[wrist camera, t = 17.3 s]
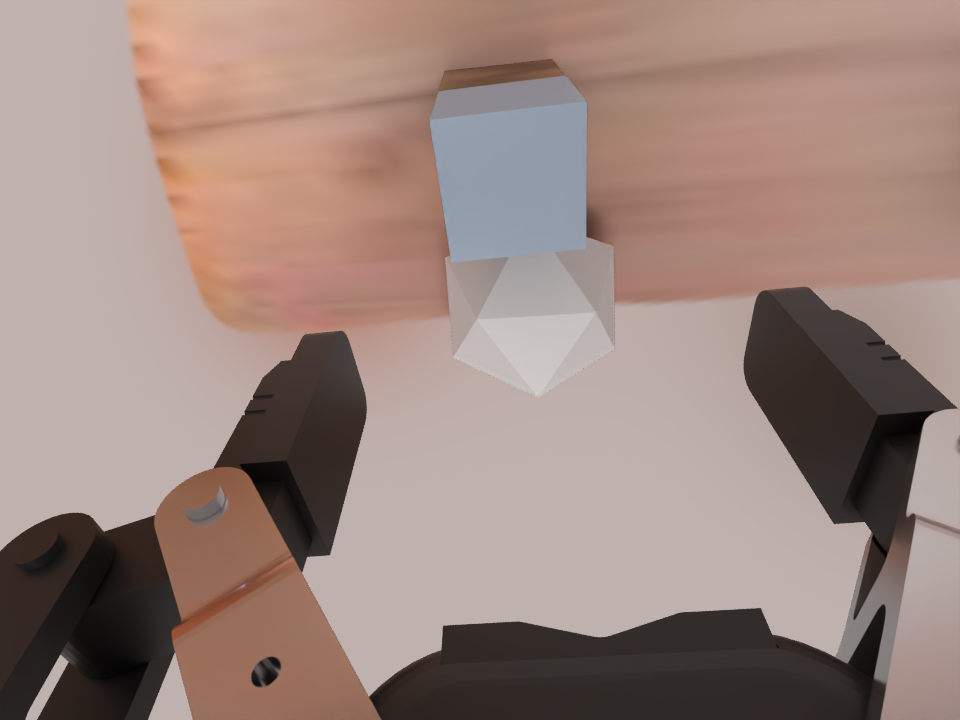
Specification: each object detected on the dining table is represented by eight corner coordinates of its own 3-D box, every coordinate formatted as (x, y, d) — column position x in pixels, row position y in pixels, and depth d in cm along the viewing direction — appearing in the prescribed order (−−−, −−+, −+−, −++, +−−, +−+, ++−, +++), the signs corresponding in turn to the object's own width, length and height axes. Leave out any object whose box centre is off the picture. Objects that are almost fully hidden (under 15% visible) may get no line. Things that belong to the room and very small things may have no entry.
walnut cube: (552, 58, 25) (566, 76, 21) (554, 168, 28) (566, 202, 24) (444, 71, 25) (438, 90, 21) (458, 177, 28) (454, 213, 24)
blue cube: (565, 75, 21) (586, 101, 17) (568, 201, 24) (586, 248, 20) (438, 91, 21) (429, 120, 17) (455, 213, 24) (451, 262, 20)
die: (441, 178, 28) (461, 324, 35) (430, 283, 22) (457, 436, 29) (608, 165, 28) (594, 316, 35) (646, 269, 21) (620, 428, 28)
